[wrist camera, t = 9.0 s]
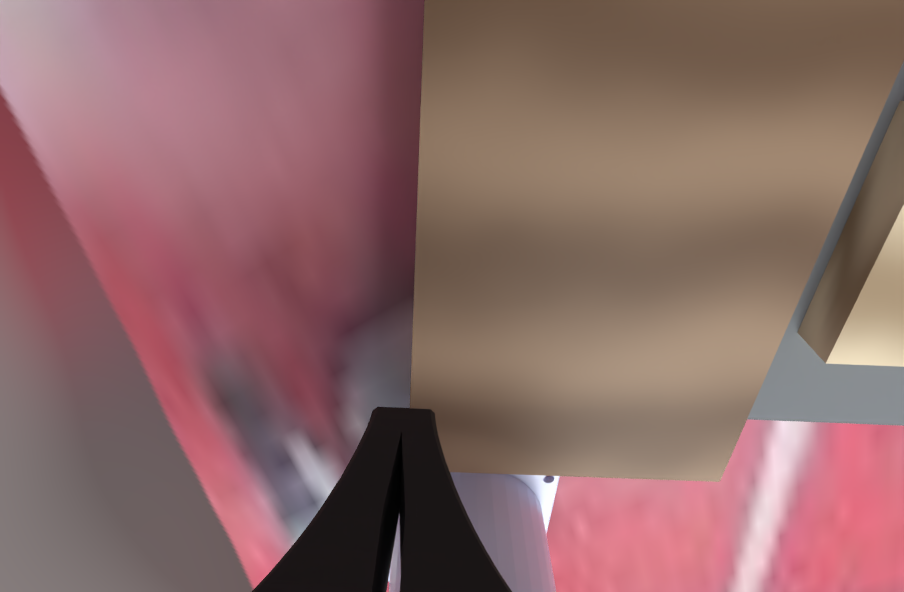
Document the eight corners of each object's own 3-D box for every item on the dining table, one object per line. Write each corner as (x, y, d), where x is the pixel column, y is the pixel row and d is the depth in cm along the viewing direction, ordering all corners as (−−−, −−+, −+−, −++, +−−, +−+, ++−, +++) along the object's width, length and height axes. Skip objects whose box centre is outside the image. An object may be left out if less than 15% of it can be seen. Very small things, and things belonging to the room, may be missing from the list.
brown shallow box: (682, 410, 26) (719, 481, 22) (412, 399, 25) (407, 470, 22) (853, -67, 17) (960, -70, 13) (431, -101, 16) (428, -113, 13)
